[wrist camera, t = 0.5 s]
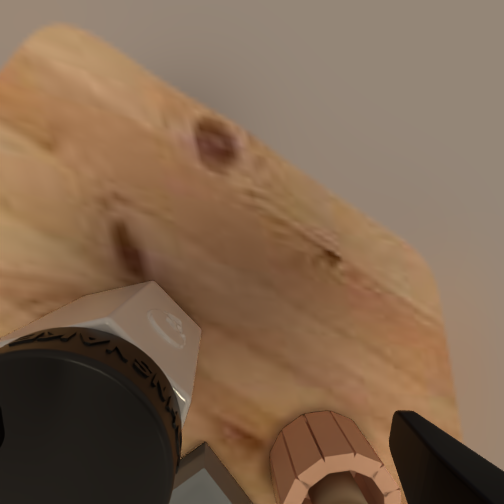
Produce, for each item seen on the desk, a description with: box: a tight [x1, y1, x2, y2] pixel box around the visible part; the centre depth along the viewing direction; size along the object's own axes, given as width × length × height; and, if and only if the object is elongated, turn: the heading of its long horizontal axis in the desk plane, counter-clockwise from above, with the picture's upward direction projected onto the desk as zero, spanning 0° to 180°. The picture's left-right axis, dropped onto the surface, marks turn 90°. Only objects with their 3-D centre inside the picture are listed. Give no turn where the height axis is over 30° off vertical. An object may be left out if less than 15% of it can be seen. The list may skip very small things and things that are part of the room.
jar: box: [0, 281, 202, 504], centre depth 16 cm, size 9×8×12 cm
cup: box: [270, 411, 401, 504], centre depth 22 cm, size 7×7×4 cm
